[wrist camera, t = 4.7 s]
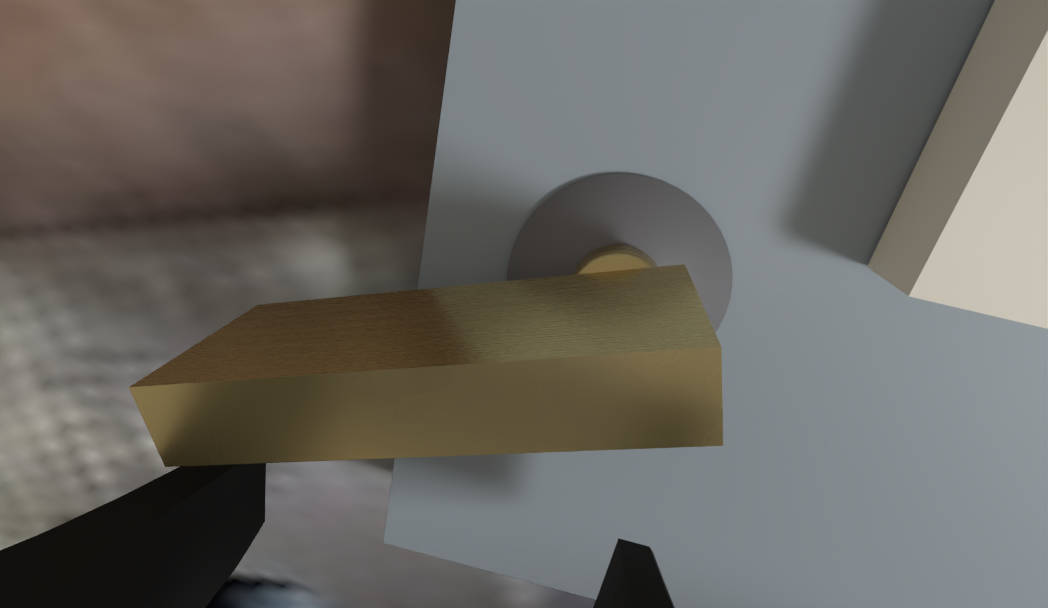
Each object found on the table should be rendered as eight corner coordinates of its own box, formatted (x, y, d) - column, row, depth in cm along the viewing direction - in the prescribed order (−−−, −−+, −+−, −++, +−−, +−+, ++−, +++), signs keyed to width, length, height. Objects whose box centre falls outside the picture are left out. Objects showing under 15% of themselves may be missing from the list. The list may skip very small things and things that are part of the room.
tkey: (306, 354, 12) (169, 477, 8) (282, 278, 12) (123, 375, 8) (681, 325, 11) (723, 458, 7) (677, 237, 10) (721, 331, 6)
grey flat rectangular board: (1044, 644, 16) (1122, 743, 13) (413, 480, 17) (382, 545, 14) (1514, 105, 10) (1800, 111, 8) (503, -103, 11) (475, -155, 8)
